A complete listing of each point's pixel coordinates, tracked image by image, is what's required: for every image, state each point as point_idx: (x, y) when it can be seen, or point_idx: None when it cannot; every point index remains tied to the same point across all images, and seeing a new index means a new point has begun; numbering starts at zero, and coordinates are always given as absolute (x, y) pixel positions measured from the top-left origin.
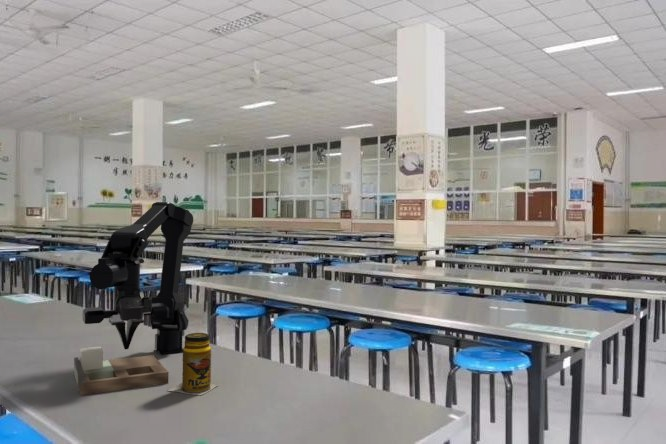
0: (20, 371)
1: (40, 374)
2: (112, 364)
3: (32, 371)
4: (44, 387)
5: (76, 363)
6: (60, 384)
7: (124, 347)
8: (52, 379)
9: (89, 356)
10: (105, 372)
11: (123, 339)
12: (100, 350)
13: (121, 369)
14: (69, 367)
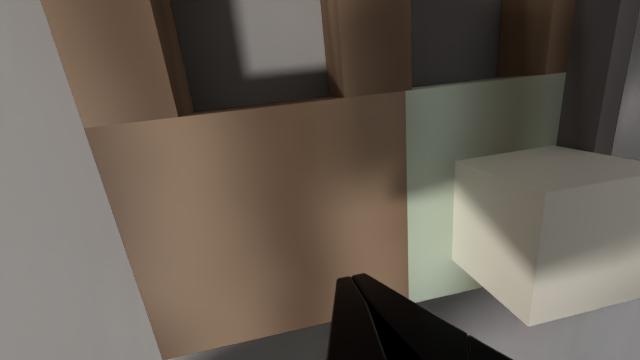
0: (636, 321)
1: None
2: (399, 219)
3: (610, 315)
4: (630, 105)
5: None
6: None
7: (372, 278)
8: None
9: (595, 170)
10: (448, 86)
11: (421, 319)
12: (558, 208)
13: (364, 93)
14: (507, 339)
